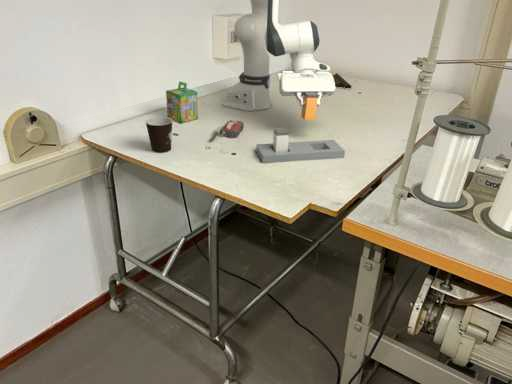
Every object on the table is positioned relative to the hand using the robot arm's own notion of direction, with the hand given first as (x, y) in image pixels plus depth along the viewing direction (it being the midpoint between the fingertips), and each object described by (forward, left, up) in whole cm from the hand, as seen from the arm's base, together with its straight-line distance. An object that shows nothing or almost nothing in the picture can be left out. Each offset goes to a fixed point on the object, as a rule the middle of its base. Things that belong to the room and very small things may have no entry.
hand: (310, 105), depth 144 cm
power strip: (0, -13, -13) cm, 19 cm away
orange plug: (-1, +1, -5) cm, 5 cm away
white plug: (-6, -17, -13) cm, 22 cm away
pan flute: (-9, +89, -14) cm, 91 cm away
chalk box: (-53, +5, -13) cm, 55 cm away
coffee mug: (-45, -25, -13) cm, 53 cm away
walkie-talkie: (-29, -5, -14) cm, 33 cm away
